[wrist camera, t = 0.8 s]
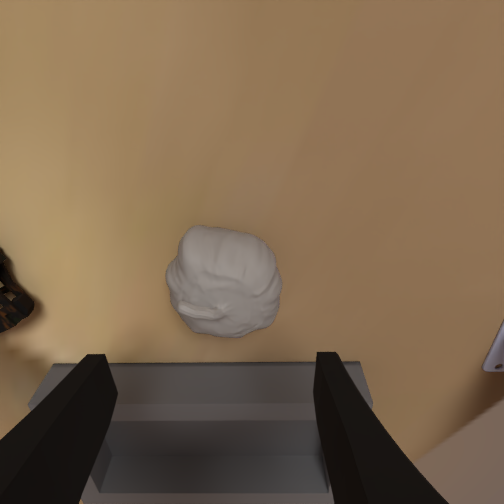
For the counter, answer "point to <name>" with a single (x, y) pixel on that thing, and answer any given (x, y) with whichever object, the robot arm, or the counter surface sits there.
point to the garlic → (224, 282)
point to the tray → (210, 434)
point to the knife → (15, 308)
